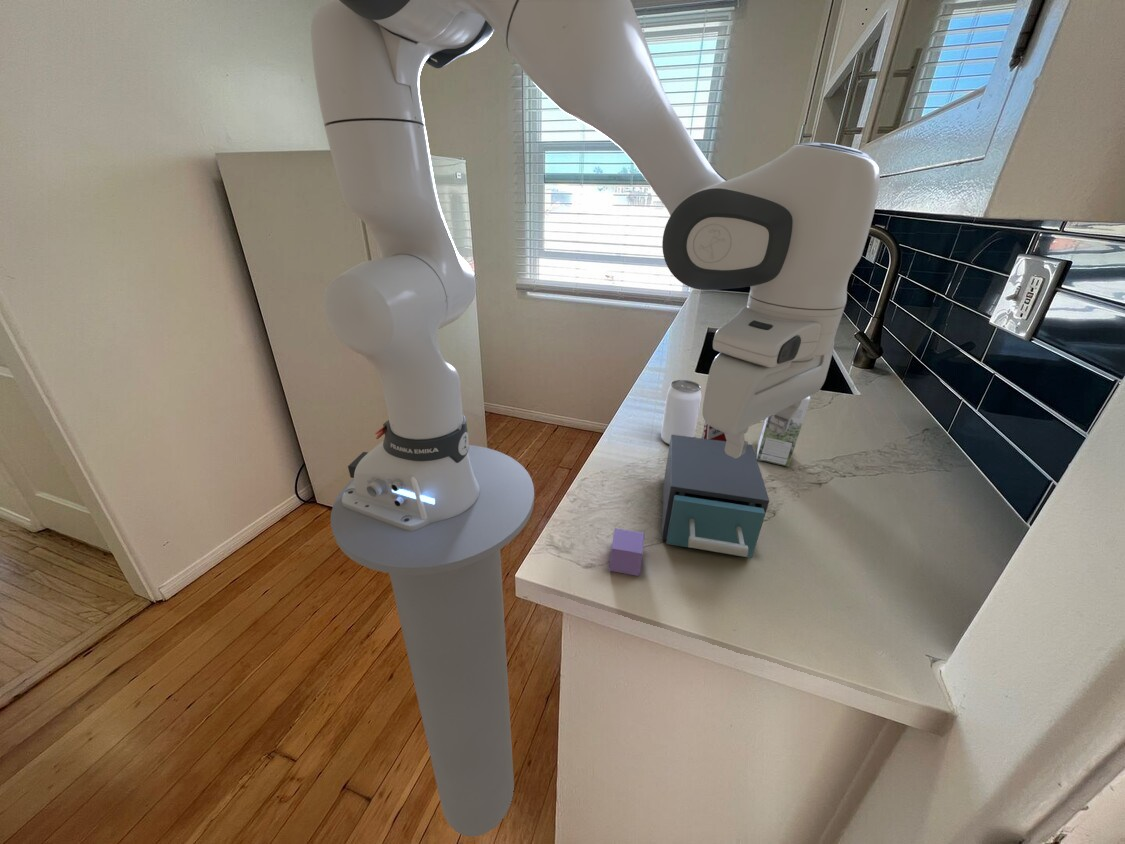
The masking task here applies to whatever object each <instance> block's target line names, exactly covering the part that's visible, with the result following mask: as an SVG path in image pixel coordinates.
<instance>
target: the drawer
mask: <svg viewBox="0 0 1125 844" xmlns="http://www.w3.org/2000/svg"><path fill="white" fill-rule="evenodd" d="M764 516H766V513H765V512H764V508H760V507H755V503H749V502H743V501H736V500H729V499H723V498H716V497H709V496H702V495H696V494H689V493H682V492H676V494H675V495H674V500H673V505H672V511H671V517H670V522H669V528H668V533H667V540H666V545H671V546H676V547H677V546H679V547H684V548H690V549H694V550H700V551H706V552H712V553H713V552H714V553H718V554H724V555H729V556H730V555H731V556H738V557H742V558H749V559H752V558H753V555H754V553H755V549H756V546H755V545H757V543H758V540H759V536H760V533H759V532H761V530H762V527H761V526H763V523H764V520H765V517H764ZM763 519H764V520H763ZM762 522H763V523H762ZM760 529H761V530H760ZM758 535H759V536H758ZM757 539H758V540H757ZM756 542H757V543H756ZM754 548H755V549H754ZM753 552H754V553H753Z"/></svg>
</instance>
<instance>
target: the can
mask: <svg viewBox="0 0 1125 844" xmlns="http://www.w3.org/2000/svg"><path fill="white" fill-rule="evenodd" d="M701 389H702V386H701V385H700V384H699V383H697V382H695V381H692V380H689V379H676V380H673V381H671V383H670V386H669V388H668V389H667V393H666V399H665V405H664V412H663V417H662V424H661V425H662V426H661V433H660V438H661V440H662V441H663V442H664V443H665V444H667V445H669V446H670V440H671V435H679V436H687V437H695V435H696V429H697V424H698V419H699V414H700V408H701V403H702V396H703V395H702V391H701Z"/></svg>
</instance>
